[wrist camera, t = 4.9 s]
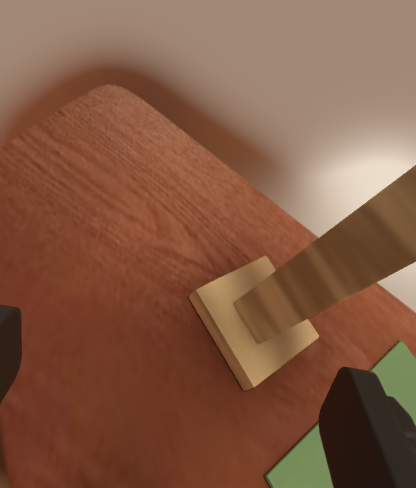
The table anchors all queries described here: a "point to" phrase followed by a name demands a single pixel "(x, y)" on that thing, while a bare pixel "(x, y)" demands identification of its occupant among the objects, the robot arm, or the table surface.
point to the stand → (306, 284)
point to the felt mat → (310, 445)
